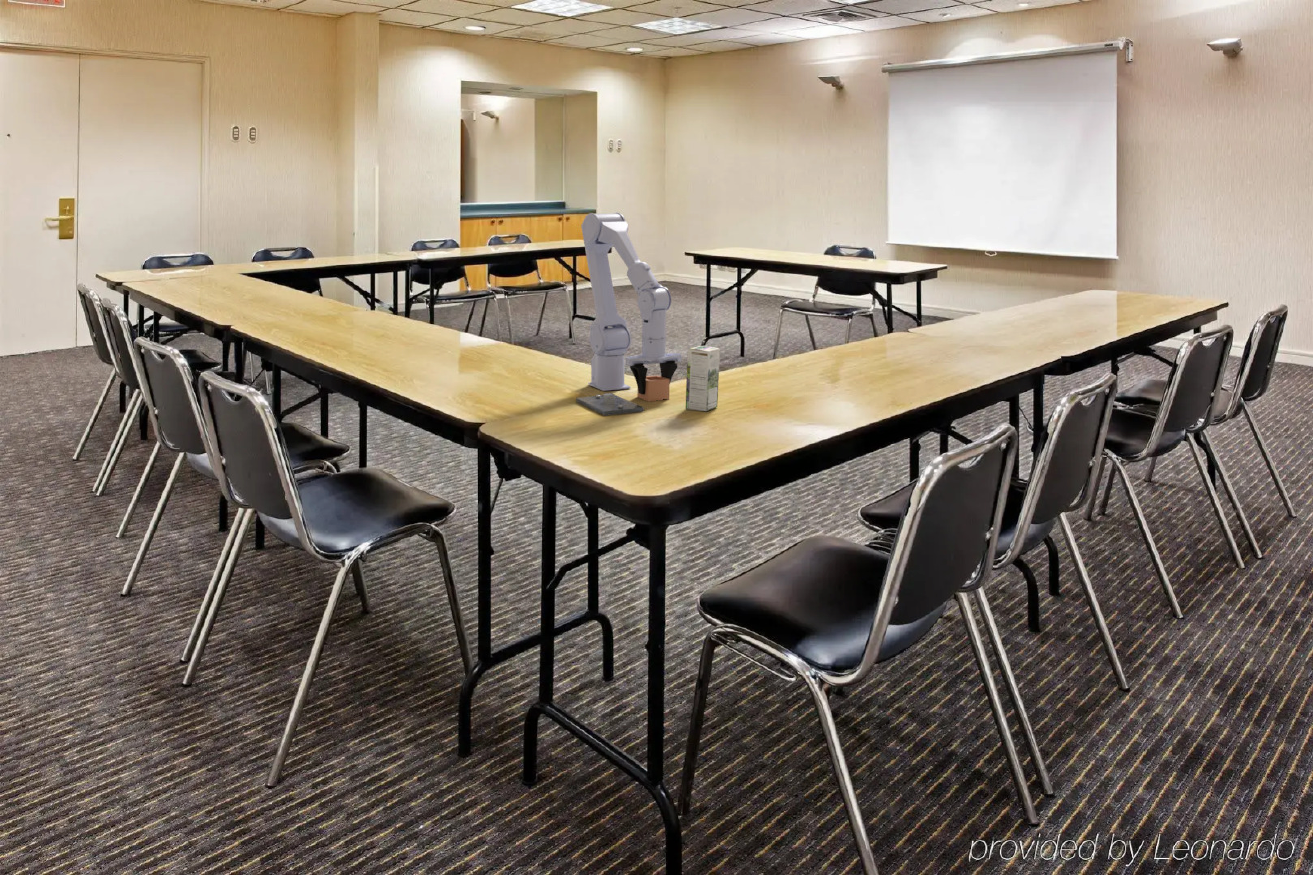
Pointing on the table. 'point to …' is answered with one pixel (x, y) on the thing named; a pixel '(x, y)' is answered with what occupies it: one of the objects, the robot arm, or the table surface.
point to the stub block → (609, 404)
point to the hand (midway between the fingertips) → (653, 392)
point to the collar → (655, 388)
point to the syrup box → (702, 378)
